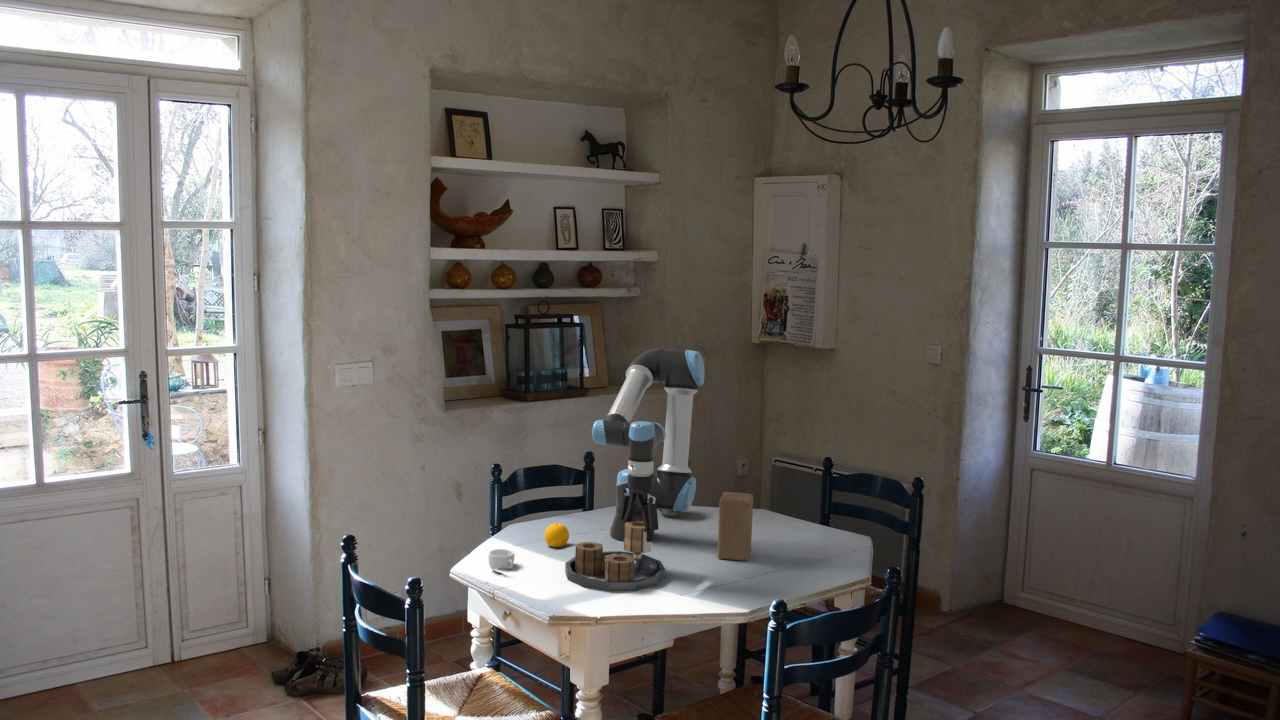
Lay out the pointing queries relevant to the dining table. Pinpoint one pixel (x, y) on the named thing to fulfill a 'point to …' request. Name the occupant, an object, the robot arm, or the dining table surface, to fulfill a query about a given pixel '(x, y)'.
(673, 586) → the dining table surface
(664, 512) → the bowl
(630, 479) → the robot arm
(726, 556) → the wooden block
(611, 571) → the seated gear
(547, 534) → the orange
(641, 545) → the planet gear
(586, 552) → the seated gear
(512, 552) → the teacup
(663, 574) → the carrier
